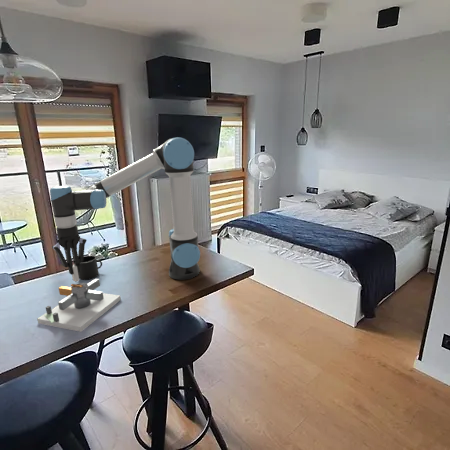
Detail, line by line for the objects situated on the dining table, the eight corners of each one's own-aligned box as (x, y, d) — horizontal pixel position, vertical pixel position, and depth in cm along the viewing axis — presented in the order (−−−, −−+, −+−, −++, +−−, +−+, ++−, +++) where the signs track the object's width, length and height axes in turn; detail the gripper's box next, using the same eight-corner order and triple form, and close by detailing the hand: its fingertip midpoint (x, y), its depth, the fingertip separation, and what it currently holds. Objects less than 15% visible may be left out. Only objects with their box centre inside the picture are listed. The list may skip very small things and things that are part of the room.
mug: (106, 274, 158) (103, 257, 155) (81, 282, 151) (78, 264, 148) (100, 269, 165) (97, 252, 162) (76, 275, 158) (73, 259, 155)
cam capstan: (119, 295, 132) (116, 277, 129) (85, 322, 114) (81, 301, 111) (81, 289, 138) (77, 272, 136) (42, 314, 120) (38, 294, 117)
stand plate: (120, 299, 133) (119, 289, 131) (79, 333, 111) (76, 320, 110) (82, 294, 139) (80, 283, 138) (36, 324, 117) (33, 312, 116)
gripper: (78, 220, 131) (87, 272, 138) (45, 227, 122) (56, 283, 128) (87, 223, 126) (95, 277, 133) (53, 231, 117) (63, 288, 124)
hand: (76, 280), depth 131 cm, fingers closed
